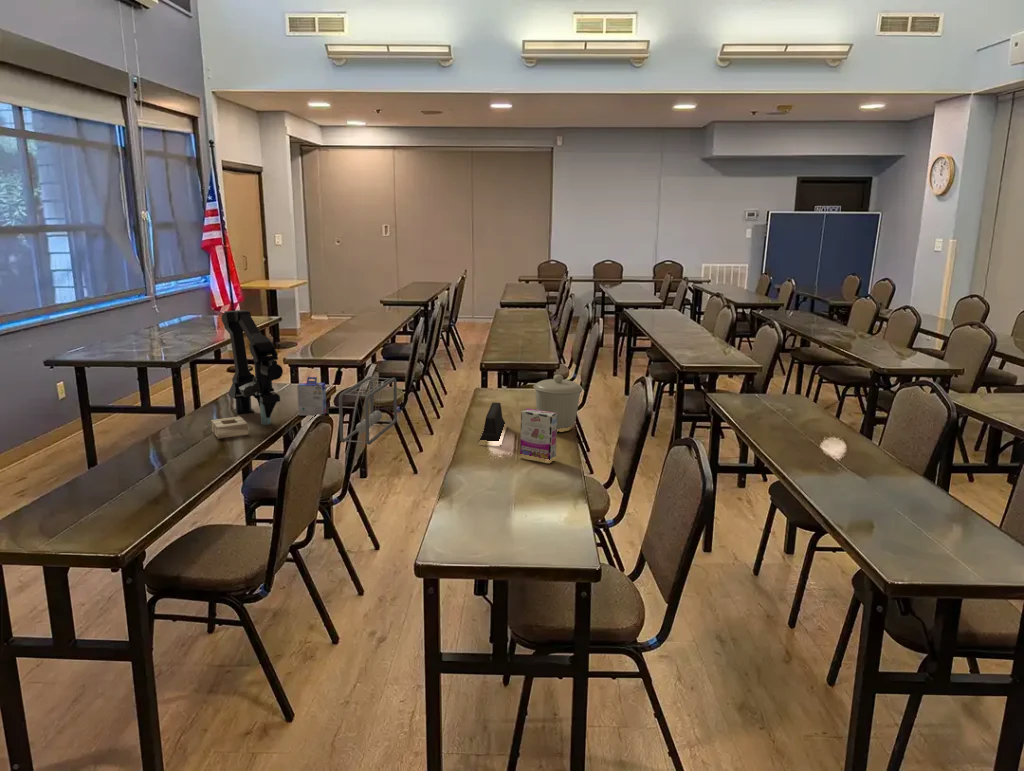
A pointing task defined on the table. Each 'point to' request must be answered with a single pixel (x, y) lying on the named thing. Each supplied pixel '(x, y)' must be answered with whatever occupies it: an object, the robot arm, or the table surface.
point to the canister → (559, 399)
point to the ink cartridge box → (311, 398)
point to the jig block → (229, 427)
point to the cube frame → (374, 416)
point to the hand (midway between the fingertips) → (265, 415)
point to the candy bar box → (538, 433)
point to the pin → (264, 416)
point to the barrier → (493, 423)
